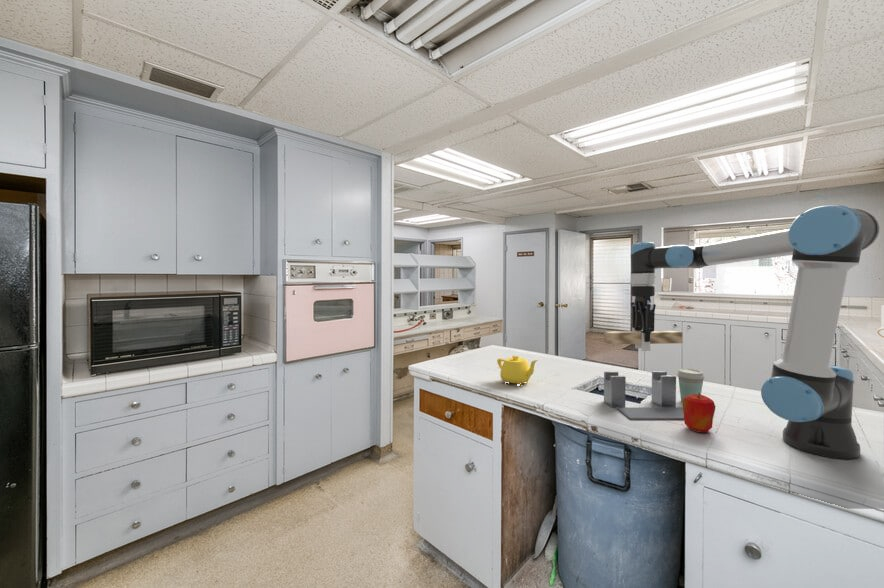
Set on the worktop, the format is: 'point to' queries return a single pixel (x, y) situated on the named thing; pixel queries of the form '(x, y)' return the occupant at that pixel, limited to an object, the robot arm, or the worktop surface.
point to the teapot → (516, 369)
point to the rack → (660, 389)
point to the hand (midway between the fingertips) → (642, 349)
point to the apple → (698, 412)
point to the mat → (653, 413)
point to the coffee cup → (690, 382)
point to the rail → (636, 337)
